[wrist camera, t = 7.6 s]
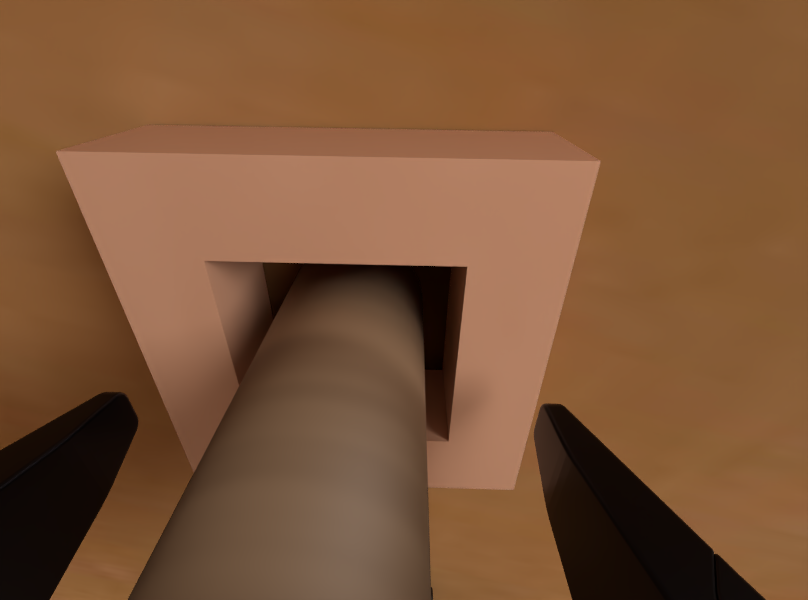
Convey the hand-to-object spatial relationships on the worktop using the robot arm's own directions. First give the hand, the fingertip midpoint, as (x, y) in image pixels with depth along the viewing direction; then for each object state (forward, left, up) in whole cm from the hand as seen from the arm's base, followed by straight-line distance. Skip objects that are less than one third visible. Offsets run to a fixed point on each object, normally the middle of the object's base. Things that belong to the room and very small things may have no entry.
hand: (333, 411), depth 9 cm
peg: (0, 0, -4) cm, 4 cm away
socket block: (0, 0, -4) cm, 4 cm away
